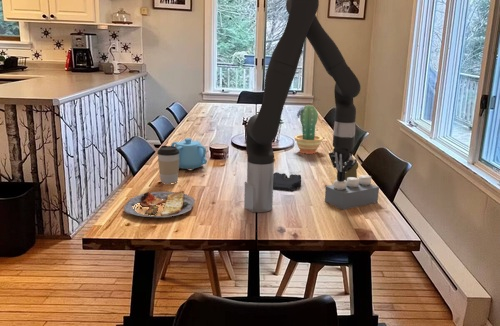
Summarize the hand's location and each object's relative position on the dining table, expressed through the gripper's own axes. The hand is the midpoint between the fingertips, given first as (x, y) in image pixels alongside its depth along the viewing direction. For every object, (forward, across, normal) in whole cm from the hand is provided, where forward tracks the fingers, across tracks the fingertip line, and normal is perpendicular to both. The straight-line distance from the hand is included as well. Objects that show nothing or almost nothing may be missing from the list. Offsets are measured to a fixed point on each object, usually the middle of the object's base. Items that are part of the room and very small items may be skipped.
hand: (340, 180), depth 164 cm
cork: (+9, -14, +18) cm, 25 cm away
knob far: (+9, 0, +12) cm, 15 cm away
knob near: (+8, 0, 0) cm, 8 cm away
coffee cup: (+9, -53, -46) cm, 71 cm away
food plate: (+9, -26, -59) cm, 65 cm away
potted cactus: (+9, -71, +39) cm, 81 cm away
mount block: (+9, 0, +6) cm, 11 cm away
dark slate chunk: (+10, -31, -8) cm, 34 cm away
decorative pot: (+9, -71, -30) cm, 78 cm away
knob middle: (+9, 0, +6) cm, 10 cm away
